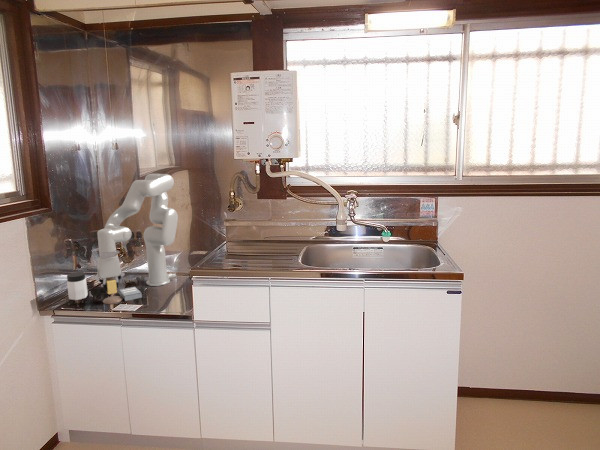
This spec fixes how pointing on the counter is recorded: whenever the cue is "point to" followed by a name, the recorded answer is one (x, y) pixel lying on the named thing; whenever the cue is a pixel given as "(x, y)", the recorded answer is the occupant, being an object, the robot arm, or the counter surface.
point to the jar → (77, 286)
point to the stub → (111, 286)
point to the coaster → (112, 300)
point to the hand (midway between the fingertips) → (111, 290)
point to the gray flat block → (130, 293)
